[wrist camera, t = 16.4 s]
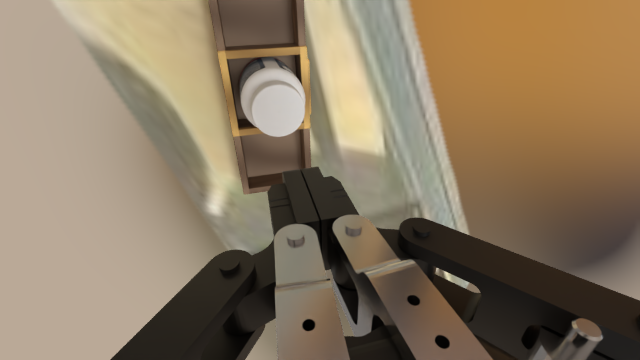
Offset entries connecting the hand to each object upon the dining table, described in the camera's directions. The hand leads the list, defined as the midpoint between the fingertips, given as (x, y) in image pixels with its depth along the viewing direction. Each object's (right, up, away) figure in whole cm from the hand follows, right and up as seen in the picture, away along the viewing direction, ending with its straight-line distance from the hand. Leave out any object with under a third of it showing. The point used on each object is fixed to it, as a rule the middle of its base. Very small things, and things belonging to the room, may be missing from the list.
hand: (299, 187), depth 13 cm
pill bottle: (-4, +10, +17) cm, 20 cm away
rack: (-5, +10, +18) cm, 21 cm away
